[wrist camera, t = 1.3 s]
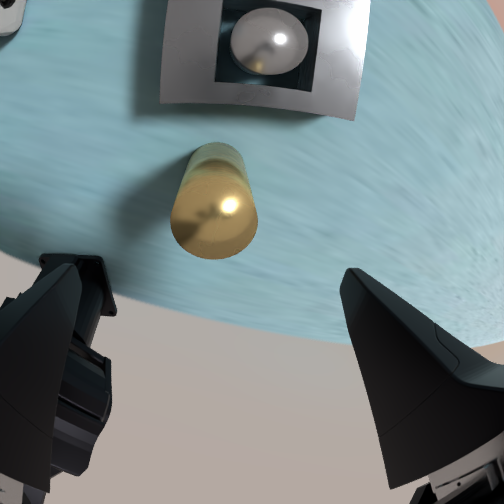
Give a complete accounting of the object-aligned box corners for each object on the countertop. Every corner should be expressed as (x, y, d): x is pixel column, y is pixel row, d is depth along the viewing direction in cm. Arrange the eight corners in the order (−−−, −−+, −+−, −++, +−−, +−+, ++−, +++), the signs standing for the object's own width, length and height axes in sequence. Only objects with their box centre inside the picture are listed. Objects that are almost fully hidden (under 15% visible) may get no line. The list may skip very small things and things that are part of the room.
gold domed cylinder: (242, 196, 18) (253, 260, 13) (187, 194, 18) (172, 258, 12) (247, 143, 16) (262, 184, 11) (188, 141, 16) (168, 182, 10)
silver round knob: (287, 78, 14) (303, 79, 11) (226, 72, 14) (227, 70, 11) (294, 26, 12) (311, 15, 9) (232, 18, 12) (235, 4, 9)
